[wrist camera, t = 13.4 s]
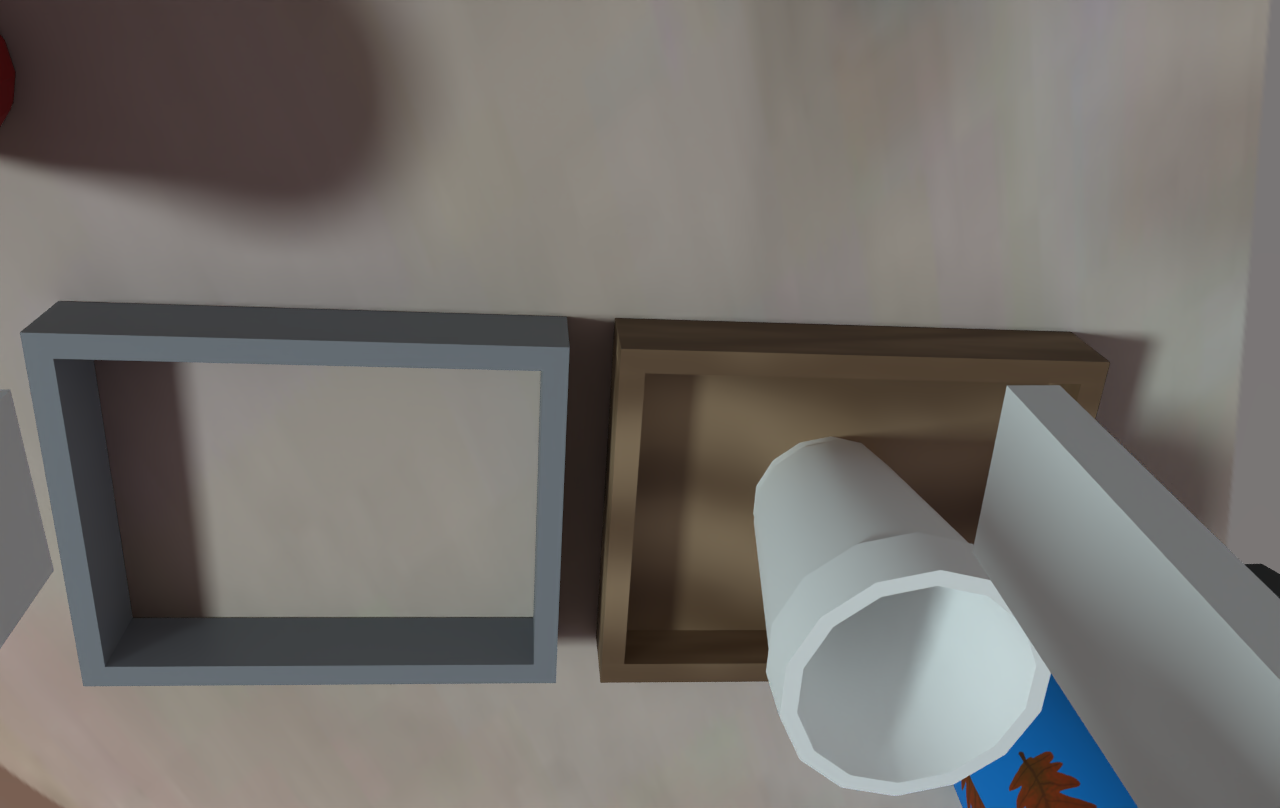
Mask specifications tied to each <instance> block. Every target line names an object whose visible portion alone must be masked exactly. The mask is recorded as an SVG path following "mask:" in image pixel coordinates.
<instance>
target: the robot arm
mask: <svg viewBox="0 0 1280 808" xmlns="http://www.w3.org/2000/svg"><path fill="white" fill-rule="evenodd" d="M973 554H974V555H975V557H976V558H977V560H978V562H979V563H980V565H981V566H982V568H983V569H984V571H985V572H986V574H987V575H988V577H989V578H990V580H991V582H992V583H993V585H994V586H995V588H996V589H997V591H998V592H999V594H1000V595H1001V597H1002V599H1003V600H1004V602H1005V603H1006V605H1007V606H1008V608H1009V609H1010V611H1011V612H1012V614H1013V615H1014V617H1015V619H1016V620H1017V622H1018V623H1019V625H1020V626H1021V628H1022V629H1023V631H1024V632H1025V634H1026V635H1027V637H1028V639H1029V640H1030V642H1031V643H1032V645H1033V646H1034V648H1035V649H1036V651H1037V652H1038V654H1039V656H1040V657H1041V659H1042V660H1043V662H1044V663H1045V665H1046V666H1047V668H1048V669H1049V671H1050V672H1051V674H1052V676H1053V677H1054V679H1055V680H1056V682H1057V683H1058V685H1059V686H1060V688H1061V689H1062V691H1063V692H1064V694H1065V696H1066V697H1067V699H1068V700H1069V702H1070V703H1071V705H1072V706H1073V708H1074V709H1075V711H1076V713H1077V714H1078V716H1079V717H1080V719H1081V720H1082V722H1083V723H1084V725H1085V726H1086V728H1087V729H1088V731H1089V733H1090V734H1091V736H1092V737H1093V739H1094V740H1095V742H1096V743H1097V745H1098V746H1099V748H1100V749H1101V751H1102V753H1103V754H1104V756H1105V757H1106V759H1107V760H1108V762H1109V763H1110V765H1111V766H1112V768H1113V769H1114V771H1115V773H1116V774H1117V776H1118V777H1119V779H1120V780H1121V782H1122V783H1123V785H1124V786H1125V788H1126V790H1127V791H1128V793H1129V794H1130V796H1131V797H1132V799H1133V800H1134V802H1135V803H1136V805H1137V806H1138V808H1280V574H1278V573H1277V572H1275V571H1273V570H1272V569H1270V568H1268V567H1266V566H1264V565H1263V564H1243V563H1242V562H1241V561H1240V560H1239V559H1238V558H1237V557H1236V556H1235V555H1234V554H1233V553H1232V552H1231V551H1230V550H1229V549H1228V548H1227V547H1226V546H1225V545H1224V544H1223V543H1222V542H1221V541H1220V540H1219V539H1218V538H1217V537H1216V536H1215V535H1214V534H1213V533H1211V532H1210V531H1209V530H1208V529H1207V528H1206V527H1205V526H1204V525H1203V524H1202V523H1201V522H1200V521H1199V520H1198V519H1197V518H1196V517H1195V516H1194V515H1193V514H1192V513H1191V512H1190V511H1189V510H1188V509H1187V508H1186V507H1185V506H1184V505H1183V504H1182V503H1181V502H1180V501H1178V500H1177V499H1176V498H1175V497H1174V496H1173V495H1172V494H1171V493H1170V492H1169V491H1168V490H1167V489H1166V488H1165V487H1164V486H1163V485H1162V484H1161V483H1160V482H1159V481H1158V480H1157V479H1156V478H1155V477H1154V476H1153V475H1152V474H1151V473H1150V472H1149V471H1148V470H1147V469H1146V468H1144V467H1143V466H1142V465H1141V464H1140V463H1139V462H1138V461H1137V460H1136V459H1135V458H1134V457H1133V456H1132V455H1131V454H1130V453H1129V452H1128V451H1127V450H1126V449H1125V448H1124V447H1123V446H1122V445H1121V444H1120V443H1119V442H1118V441H1117V440H1116V439H1115V438H1114V437H1113V436H1112V435H1110V434H1109V433H1108V432H1107V431H1106V430H1105V429H1104V428H1103V427H1102V426H1101V425H1100V424H1099V423H1098V422H1097V421H1096V420H1095V419H1094V418H1093V417H1092V416H1091V415H1090V414H1089V413H1088V412H1087V411H1086V410H1085V409H1084V408H1083V407H1082V406H1081V405H1080V404H1079V403H1078V402H1076V401H1075V400H1074V399H1073V398H1072V397H1071V396H1070V395H1069V394H1068V393H1067V392H1066V391H1065V390H1064V389H1063V388H1062V387H1061V386H1060V385H1007V387H1006V392H1005V397H1004V401H1003V406H1002V411H1001V416H1000V421H999V426H998V431H997V435H996V440H995V445H994V450H993V455H992V460H991V464H990V469H989V474H988V479H987V484H986V489H985V494H984V498H983V503H982V508H981V513H980V518H979V523H978V527H977V532H976V537H975V542H974V547H973ZM53 571H54V569H53V565H52V561H51V557H50V553H49V549H48V544H47V540H46V536H45V532H44V528H43V524H42V520H41V515H40V511H39V507H38V503H37V499H36V495H35V490H34V486H33V482H32V478H31V474H30V470H29V466H28V461H27V457H26V453H25V449H24V445H23V441H22V437H21V432H20V428H19V424H18V420H17V416H16V412H15V407H14V403H13V399H12V395H11V391H10V390H0V648H1V647H2V645H3V644H4V642H5V641H6V639H7V638H8V636H9V635H10V633H11V632H12V631H13V629H14V628H15V626H16V625H17V623H18V622H19V620H20V619H21V617H22V616H23V614H24V613H25V612H26V610H27V609H28V607H29V606H30V604H31V603H32V601H33V600H34V598H35V597H36V595H37V594H38V593H39V591H40V590H41V588H42V587H43V585H44V584H45V582H46V581H47V579H48V578H49V576H50V575H51V574H52V572H53Z"/></svg>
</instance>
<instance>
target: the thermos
mask: <svg viewBox="0 0 1280 808" xmlns="http://www.w3.org/2000/svg"><path fill="white" fill-rule="evenodd" d="M954 787H955V790H956V792H957V795H958V797H959V800H960V802H961V805H962V807H963V808H1138V806H1137V805H1136V803H1135V802H1134V800H1133V799H1132V797H1131V796H1130V794H1129V793H1128V791H1127V790H1126V788H1125V786H1124V785H1123V783H1122V782H1121V780H1120V779H1119V777H1118V776H1117V774H1116V773H1115V771H1114V769H1113V768H1112V766H1111V765H1110V763H1109V762H1108V760H1107V759H1106V757H1105V756H1104V754H1103V753H1102V751H1101V749H1100V748H1099V746H1098V745H1097V743H1096V742H1095V740H1094V739H1093V737H1092V736H1091V734H1090V733H1089V731H1088V729H1087V728H1086V726H1085V725H1084V723H1083V722H1082V720H1081V719H1080V717H1079V716H1078V714H1077V713H1076V711H1075V709H1074V708H1073V706H1072V705H1071V703H1070V702H1069V700H1068V699H1067V697H1066V696H1065V694H1064V692H1063V691H1062V689H1061V688H1060V686H1059V685H1058V683H1057V682H1056V680H1055V679H1054V677H1053V676H1052V674H1051V675H1050V679H1049V683H1048V686H1047V690H1046V694H1045V698H1044V702H1043V706H1042V710H1041V712H1040V713H1039V714H1038V716H1037V717H1036V718H1035V719H1034V720H1033V722H1032V723H1031V724H1030V725H1029V726H1028V728H1027V729H1026V730H1025V731H1024V733H1023V734H1022V735H1021V736H1020V737H1019V739H1018V740H1017V741H1016V742H1015V743H1014V745H1013V746H1012V747H1011V748H1010V749H1009V751H1008V752H1007V753H1006V754H1005V755H1004V756H1002V757H1000V758H998V759H997V760H995V761H993V762H992V763H990V764H988V765H986V766H985V767H983V768H981V769H980V770H978V771H976V772H974V773H973V774H971V775H969V776H967V777H966V778H964V779H962V780H961V781H959V782H957V783H955V784H954Z"/></svg>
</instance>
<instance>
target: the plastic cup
mask: <svg viewBox="0 0 1280 808" xmlns="http://www.w3.org/2000/svg"><path fill="white" fill-rule="evenodd" d="M14 85H15V70H14V67H13V64H12V61H11V58H10V55H9V52H8V49H7V46H6V43H5V40H4V39H3V38H2V36H1V35H0V127H1V125H2V123H3V121H4V120H5V118H6V116H7V115H8V113H9V111H10V110H11V106H12V104H13V100H14Z"/></svg>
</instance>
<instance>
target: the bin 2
mask: <svg viewBox="0 0 1280 808" xmlns="http://www.w3.org/2000/svg"><path fill="white" fill-rule="evenodd" d="M1109 365H1110V362H1109V361H1108V360H1107V359H1105V358H1104V357H1103V356H1101V355H1100V354H1099V353H1098V352H1096V351H1095V350H1094V349H1092V348H1091V347H1090V346H1088V345H1087V344H1086V343H1085V342H1083V341H1082V340H1081V339H1079V338H1078V337H1077V336H1076V335H1074V334H1073V333H1072V332H1052V331H1019V330H986V329H953V328H920V327H887V326H854V325H821V324H788V323H755V322H722V321H690V320H657V319H624V318H615V325H614V342H613V359H612V376H611V393H610V410H609V427H608V444H607V461H606V477H605V494H604V511H603V528H602V545H601V562H600V579H599V596H598V613H597V630H596V638H597V649H598V660H599V671H600V682H601V683H605V682H746V681H768V678H767V674H766V667H767V659H768V651H769V648H768V639H767V631H766V622H765V614H764V605H763V597H762V588H761V580H760V571H759V562H758V554H757V545H756V537H755V528H754V515H753V511H754V502H755V493H756V486H757V484H758V482H759V481H760V479H761V478H762V476H763V475H764V473H765V472H766V470H767V469H768V467H769V466H770V464H771V463H772V461H773V460H774V459H776V458H777V457H779V456H780V455H782V454H783V453H785V452H786V451H788V450H789V449H791V448H792V447H794V446H795V445H797V444H798V443H800V442H805V441H810V440H816V439H821V438H826V437H831V436H832V437H837V438H841V439H846V440H850V441H854V442H859V443H862V444H863V445H864V446H865V447H867V448H868V449H869V450H870V451H871V452H873V453H874V454H875V455H876V456H877V457H879V458H880V459H881V460H882V461H883V462H884V463H885V464H887V465H888V466H889V467H890V468H891V469H892V470H893V471H894V472H895V473H896V474H897V475H898V476H899V477H900V478H901V479H903V480H904V481H905V482H906V483H907V484H908V485H909V486H910V487H911V488H912V489H913V490H914V491H915V492H916V493H917V494H918V495H919V496H920V497H921V498H922V499H923V500H924V501H925V502H926V503H928V504H929V505H930V506H931V507H932V508H933V509H934V510H935V511H936V512H937V513H938V514H939V515H940V516H941V517H942V518H943V519H944V520H945V521H946V522H947V523H948V524H949V525H950V526H951V527H953V528H954V529H955V530H956V531H957V532H958V533H959V534H960V535H961V536H962V537H963V538H964V539H965V540H966V541H967V542H968V543H971V544H973V545H974V542H975V537H976V532H977V527H978V523H979V518H980V513H981V508H982V503H983V498H984V494H985V489H986V484H987V479H988V474H989V469H990V464H991V460H992V455H993V450H994V445H995V440H996V435H997V431H998V426H999V421H1000V416H1001V411H1002V406H1003V401H1004V397H1005V392H1006V387H1007V385H1060V386H1061V387H1062V388H1063V389H1064V390H1065V391H1066V392H1067V393H1068V394H1069V395H1070V396H1071V397H1072V398H1073V399H1074V400H1075V401H1076V402H1078V403H1079V404H1080V405H1081V406H1082V407H1083V408H1084V409H1085V410H1086V411H1087V412H1088V413H1089V414H1090V415H1091V416H1092V417H1093V418H1094V419H1095V418H1096V415H1097V411H1098V407H1099V403H1100V399H1101V395H1102V392H1103V388H1104V384H1105V380H1106V376H1107V372H1108V369H1109Z"/></svg>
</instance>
